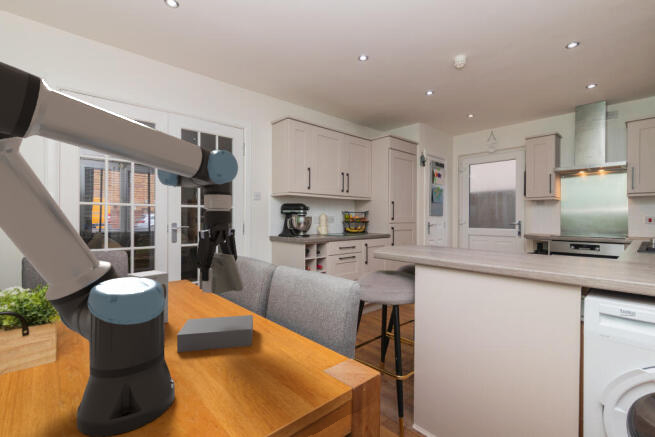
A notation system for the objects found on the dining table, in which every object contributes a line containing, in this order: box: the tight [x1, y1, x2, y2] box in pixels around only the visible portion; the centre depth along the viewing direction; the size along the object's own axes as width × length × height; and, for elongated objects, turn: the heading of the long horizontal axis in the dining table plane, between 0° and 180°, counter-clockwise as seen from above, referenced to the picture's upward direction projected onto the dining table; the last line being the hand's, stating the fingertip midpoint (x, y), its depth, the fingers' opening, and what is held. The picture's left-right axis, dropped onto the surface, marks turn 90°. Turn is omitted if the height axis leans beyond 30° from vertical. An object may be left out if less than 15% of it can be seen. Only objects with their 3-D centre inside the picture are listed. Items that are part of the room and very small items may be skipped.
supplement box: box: [126, 269, 169, 324], centre depth 100 cm, size 10×9×17 cm
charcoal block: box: [176, 314, 254, 353], centre depth 87 cm, size 12×19×5 cm, turn 102°
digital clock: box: [199, 252, 244, 295], centre depth 87 cm, size 16×9×11 cm, turn 40°
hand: (218, 288), depth 87 cm, fingers closed on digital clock, 9 cm apart
